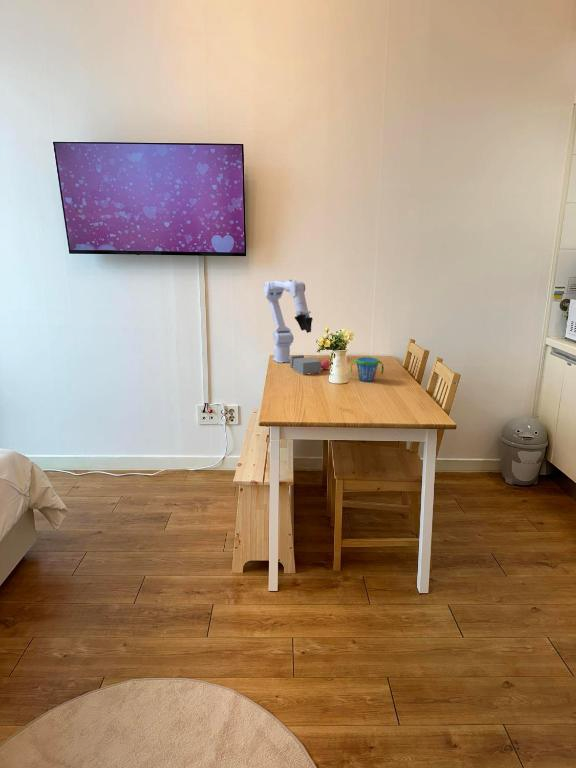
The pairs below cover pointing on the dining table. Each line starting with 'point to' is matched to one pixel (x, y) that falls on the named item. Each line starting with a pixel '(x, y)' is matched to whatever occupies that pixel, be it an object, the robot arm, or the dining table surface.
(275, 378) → the dining table surface
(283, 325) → the robot arm
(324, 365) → the ball
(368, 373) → the snack cup
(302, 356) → the grey stepped block
